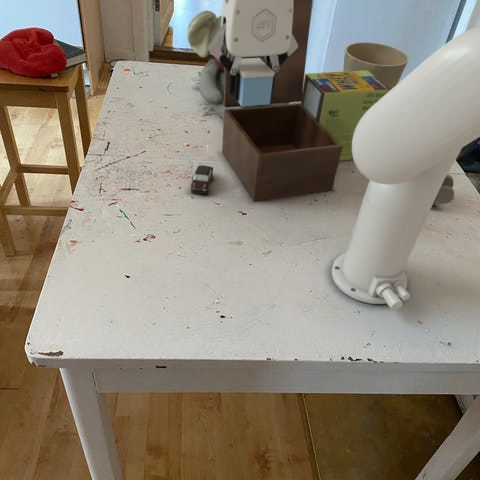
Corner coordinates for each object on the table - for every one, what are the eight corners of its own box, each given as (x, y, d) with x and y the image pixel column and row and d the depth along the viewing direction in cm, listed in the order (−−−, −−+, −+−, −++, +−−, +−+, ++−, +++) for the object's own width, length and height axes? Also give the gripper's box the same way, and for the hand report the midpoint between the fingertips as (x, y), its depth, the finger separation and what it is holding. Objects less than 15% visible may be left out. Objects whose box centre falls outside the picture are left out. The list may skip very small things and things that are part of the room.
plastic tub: (270, 104, 77) (274, 72, 73) (241, 107, 76) (244, 74, 72) (256, 89, 81) (259, 57, 77) (227, 91, 79) (229, 59, 76)
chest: (331, 190, 98) (343, 146, 91) (253, 201, 93) (258, 155, 86) (293, 145, 110) (300, 103, 103) (221, 153, 105) (224, 109, 98)
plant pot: (320, 109, 125) (334, 43, 113) (368, 105, 129) (386, 41, 118) (348, 136, 116) (366, 66, 104) (399, 130, 120) (421, 63, 108)
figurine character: (440, 202, 101) (374, 180, 102) (459, 171, 95) (388, 148, 96) (440, 219, 97) (370, 196, 97) (460, 188, 91) (386, 163, 92)
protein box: (371, 158, 109) (392, 88, 98) (310, 164, 105) (324, 92, 94) (350, 136, 116) (368, 69, 104) (292, 141, 112) (304, 72, 100)
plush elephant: (297, 113, 122) (312, 22, 107) (232, 134, 112) (238, 36, 96) (231, 77, 135) (236, -8, 120) (167, 93, 124) (163, 1, 109)
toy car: (188, 194, 93) (188, 157, 87) (200, 164, 101) (200, 128, 95) (208, 197, 93) (209, 160, 87) (218, 166, 101) (219, 131, 95)
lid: (313, -13, 89) (301, -16, 93) (226, -13, 84) (216, -16, 88) (301, 101, 102) (290, 94, 106) (225, 107, 97) (216, 100, 101)
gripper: (212, -33, 60) (207, 110, 73) (328, -32, 65) (305, 101, 78) (194, -47, 64) (193, 90, 78) (304, -45, 70) (286, 83, 83)
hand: (249, 95), depth 78 cm, fingers closed on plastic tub, 5 cm apart
